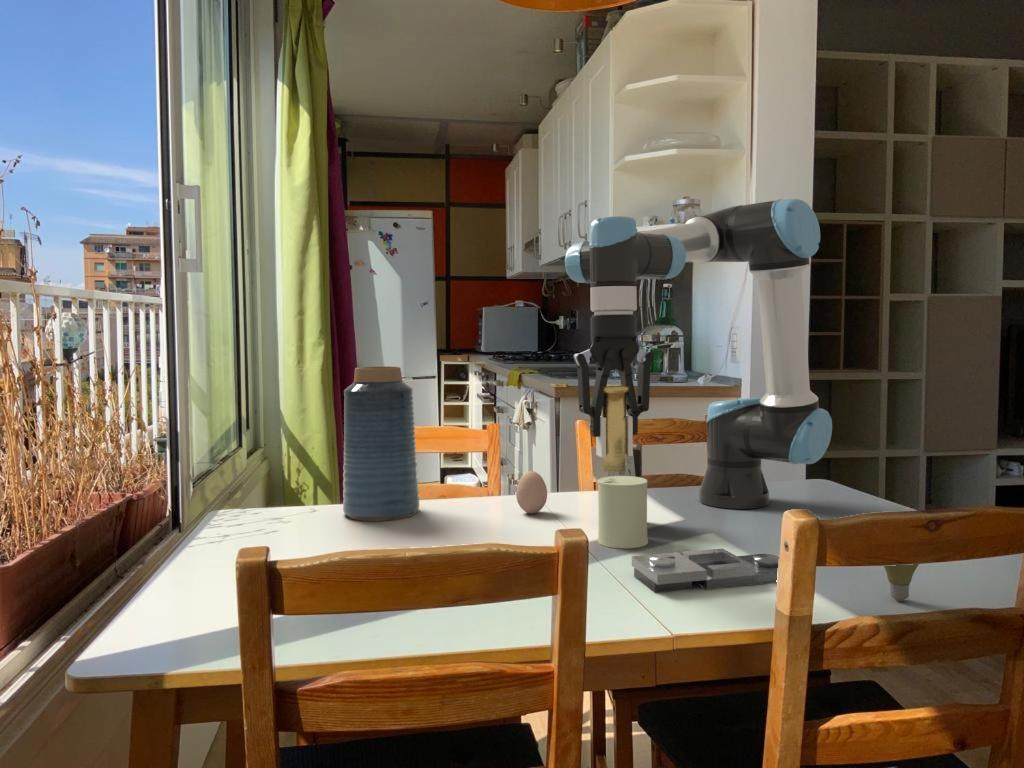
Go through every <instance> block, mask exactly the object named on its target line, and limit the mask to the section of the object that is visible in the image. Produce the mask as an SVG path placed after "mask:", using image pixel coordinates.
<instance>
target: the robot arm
mask: <svg viewBox="0 0 1024 768" xmlns="http://www.w3.org/2000/svg"><path fill="white" fill-rule="evenodd" d="M820 228H821V227H820V224H819V220H818V218H817V215H816V213H815V211H814V210H813V209H812V207H811V206H810V205H809V204H808V202H805V201H804V200H802V199H799V198H786V199H781V198H779V199H776V200H769V201H764V202H763V201H762V202H757V203H756V202H755V203H748V204H742V205H741V204H740V205H734V206H730V207H727V208H722V209H721V210H716V211H714V212H711V213H708V214H703V215H700V216H696V217H692V218H690V219H688V220H687V221H686V222H685V223H683V224H677V225H673V226H667V227H662V228H657V229H651V230H646V231H641V232H638V229H637V222H636V220H635V219H634V218H633V217H630V216H606V217H605V216H603V217H598V218H595V219H594V220H593V221H591V223H590V229H589V241H588V240H583V241H582V242H581V241H580V242H577V243H574V244H572V245H571V246H570V247H569V248H568V249H567V251H566V253H565V257H564V265H565V271H566V274H567V276H568V277H569V278H570V279H571V280H572V281H573V282H575V283H581V284H584V283H585V284H590V288H589V289H590V300H589V301H590V311H591V312H593V315H591V317H590V342H589V344H588V346H587V349H586V350H584V351H582V352H579V353H574V354H573V355H572V358H573V361H574V363H575V366H576V368H577V369H576V371H577V390H578V391H577V392H578V410H579V412H580V413H583V414H585V415H588V416H589V417H590V434H591V436H592V437H594V438H595V441H596V442H595V445H596V447H595V450H596V451H595V453H596V454H595V455H596V456H598V457H599V458H603V457H606V418H605V417H602V408H603V402H604V397H605V393H603V387H606V386H607V385H608V379H609V377H610V373H611V371H615V370H616V371H617V374H618V376H619V379H620V385H624V386H630V392H627V393H626V455H627V456H633V443H634V440H633V439H634V437H633V436H635V435H637V434H638V431H639V430H638V429H639V427H638V425H639V421H638V420H639V416H640V415H641V414H642V413H645V412H648V411H649V409H650V393H651V392H650V388H651V387H650V386H651V366H652V363H653V360H654V358H655V354H654V352H652V351H647V350H644V349H642V348H640V346H639V343H638V341H637V336H638V327H637V326H638V325H637V324H638V323H637V322H638V321H637V319H638V317H637V316H636V314H634V312H636V311H637V310H638V309H637V308H638V303H637V302H638V300H637V297H638V296H637V295H638V294H637V281H638V280H647V279H648V280H654V279H655V280H659V281H661V280H667V279H669V280H670V279H673V278H676V277H677V276H678V275H679V274H680V273H682V270H683V269H684V267H685V264H686V263H689V262H692V263H693V264H699V265H701V264H706V263H719V262H723V263H745V262H748V266H749V267H748V268H749V269H748V270H749V271H748V272H749V273H750V274H752V275H753V277H756V279H757V285H758V298H759V311H760V323H761V324H760V326H761V337H762V338H761V339H762V351H763V364H764V375H765V376H764V377H765V389H766V390H765V394H764V395H763V396H762V397H761V398H760V397H749V398H738V399H737V398H736V399H729V400H728V399H727V400H718V401H713V402H711V403H710V404H709V405H708V408H707V418H706V425H707V426H706V432H707V433H706V437H707V439H706V441H707V442H706V443H707V444H706V446H707V449H706V450H707V453H706V456H707V462H706V463H707V465H706V470H705V473H704V476H703V479H702V482H701V484H700V488H699V490H698V491H699V492H698V493H699V494H698V497H699V498H698V501H699V502H700V503H701V504H703V505H707V506H711V507H716V508H723V509H733V510H734V509H737V510H738V509H739V510H746V509H757V508H758V509H759V508H763V507H766V506H768V505H769V504H770V492H769V488H768V485H767V482H766V479H765V476H764V473H763V470H762V460H767V461H774V462H775V461H776V462H781V463H787V464H792V465H798V464H799V465H801V464H802V465H812V464H815V463H817V462H819V461H820V460H821V459H822V457H823V456H824V455H825V454H826V452H827V449H828V448H829V445H830V443H831V438H832V433H833V421H832V416H831V415H830V413H829V411H828V410H826V409H824V408H820V403H819V397H818V396H817V395H816V394H815V393H814V392H812V391H811V387H810V386H811V385H810V384H811V383H810V371H809V370H810V369H809V356H808V342H807V327H806V310H805V309H806V308H805V298H804V284H803V283H804V282H803V281H804V279H803V274H804V272H805V271H807V269H808V268H809V267H810V258H811V257H813V256H814V255H816V253H817V252H818V250H819V249H820V245H819V244H820V243H821V229H820ZM636 357H637V362H638V364H637V365H638V367H637V386H636V391H637V392H636V391H635V385H634V379H633V371H632V370H633V369H632V365H631V364H632V363H633V361H634V360H635V358H636ZM590 358H592V360H593V361H594V362H595V364H596V370H595V380H594V384H593V385H594V386H593V391H592V397H591V386H590V368H589V364H590V362H591V360H590Z"/></svg>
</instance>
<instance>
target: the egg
mask: <svg viewBox="0 0 1024 768" xmlns="http://www.w3.org/2000/svg"><path fill="white" fill-rule="evenodd" d="M515 492H516V494H515V495H516V501H517V503H518V505H519V507H520V509H522V510H523V511H524V512H525V513H526V514H530V515H531V514H532V515H533V514H537V513H539V512H540V511H541V510H542V509H543V508H544V507H545V506H546V503H547V499H548V488H547V485H546V482H545V480H544V478H543V477H542V475H541V474H539V473H538V472H536V471H534V470H530V471H526V472H525V473H524V474H522V476H521V477H520V479H519V481H518V483H517V487H516V491H515Z"/></svg>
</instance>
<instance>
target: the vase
mask: <svg viewBox="0 0 1024 768" xmlns="http://www.w3.org/2000/svg"><path fill="white" fill-rule="evenodd" d="M413 393H414V392H413V388H412V387H411V386H410V385H409V384H407V383H406V382H404V381H403V376H402V369H401V366H391V365H390V366H387V365H386V366H382V365H381V366H362V367H355V368H354V377H353V382H352V383H351V384H350V385H349V386H347V387H346V388H345V389H344V390H343V396H344V399H343V402H344V403H343V408H344V409H343V413H344V414H343V418H344V419H343V422H344V424H343V432H344V434H343V438H344V439H343V448H344V449H343V467H342V468H343V474H342V476H343V482H342V487H343V491H342V493H343V494H342V497H343V501H342V510H343V513H344V514H345V516H347V517H348V518H350V519H352V520H355V521H364V522H385V521H387V520H388V521H394V520H395V519H396V520H400V519H406V518H408V516H409V517H411V516H414V515H415V514H416V513H417V511H419V509H420V496H419V494H420V493H419V492H420V491H419V478H418V474H419V473H418V471H419V470H418V468H417V467H418V462H417V456H416V455H417V452H416V451H417V448H416V445H417V443H416V437H415V435H416V432H415V430H416V429H415V428H416V427H415V416H414V415H415V412H414V402H413V401H414V400H413V399H414V397H413ZM405 517H406V518H405ZM396 520H395V521H396Z"/></svg>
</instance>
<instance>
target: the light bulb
mask: <svg viewBox="0 0 1024 768" xmlns="http://www.w3.org/2000/svg"><path fill="white" fill-rule="evenodd" d="M919 565H920V563H919V564H913V565H896V566H883V568H884V569H885V572H886V578H887V580H888V582H889V584H890V585H889V586H890V588H889V589H890V590H889V591H890V592H889V594H890V596H891V597H892V598H893V599H894V600H895V601H896V602H903V601H905V600H906V599H908V598H909V596H910V593H909V592H910V585H911V582H912V579H913V575H914V573H915V572H916V570H917V568H918V566H919Z"/></svg>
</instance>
